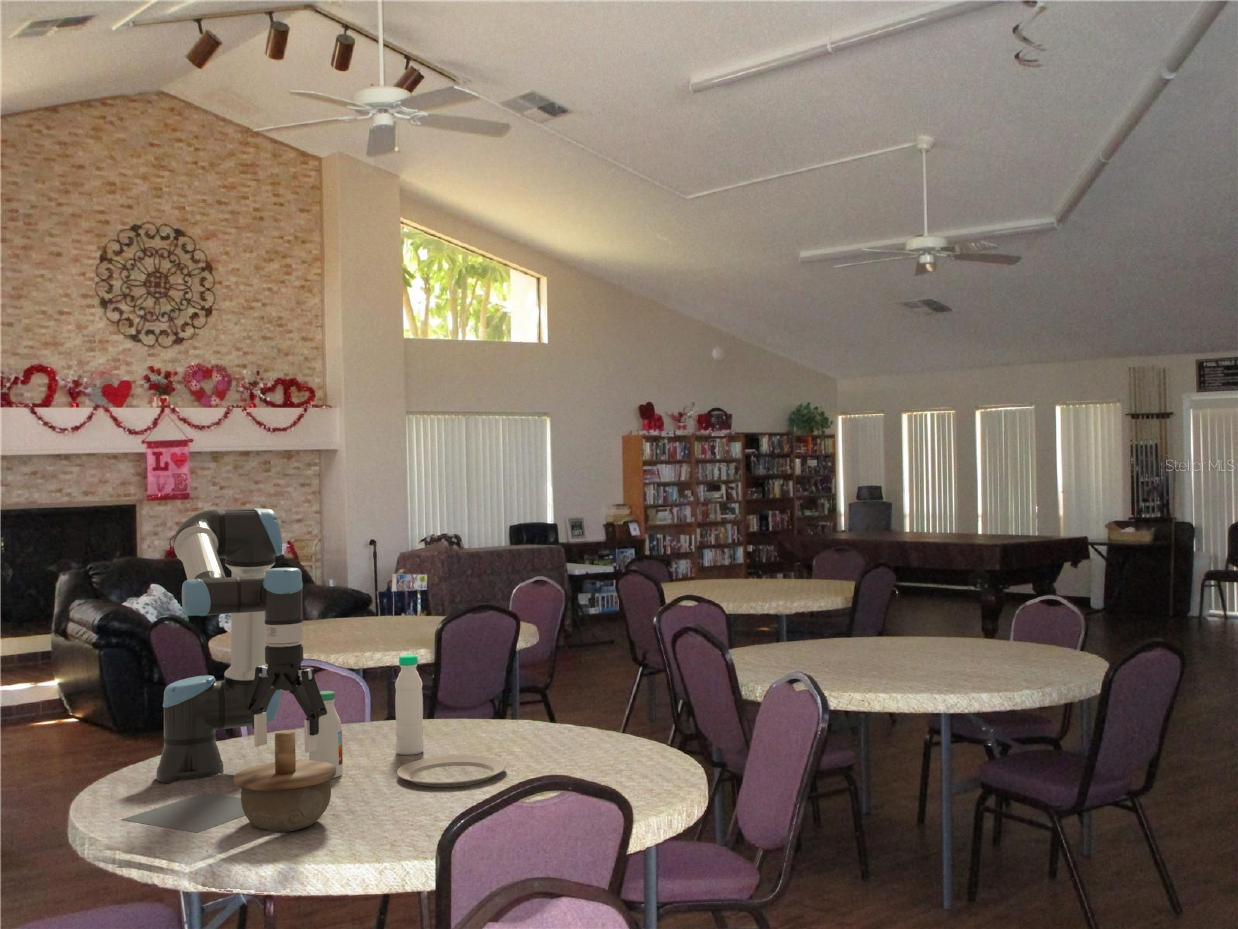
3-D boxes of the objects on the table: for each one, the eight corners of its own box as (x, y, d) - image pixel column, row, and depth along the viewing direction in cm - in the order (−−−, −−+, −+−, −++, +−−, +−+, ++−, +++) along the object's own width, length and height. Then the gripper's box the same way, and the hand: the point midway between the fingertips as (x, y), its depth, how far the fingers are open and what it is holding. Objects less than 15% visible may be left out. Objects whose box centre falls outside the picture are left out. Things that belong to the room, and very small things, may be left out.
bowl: (317, 839, 216) (316, 787, 216) (227, 840, 216) (226, 789, 217) (341, 813, 233) (340, 765, 234) (258, 814, 234) (257, 767, 234)
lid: (211, 784, 221) (211, 739, 221) (284, 761, 238) (284, 719, 239) (286, 795, 212) (285, 748, 212) (356, 770, 229) (356, 727, 229)
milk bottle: (333, 780, 260) (332, 695, 260) (303, 779, 261) (302, 695, 262) (348, 772, 267) (347, 689, 268) (318, 771, 269) (317, 689, 269)
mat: (120, 824, 228) (120, 819, 228) (204, 797, 248) (204, 792, 248) (197, 837, 218) (197, 832, 218) (278, 808, 238) (278, 803, 238)
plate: (375, 779, 262) (375, 770, 262) (460, 758, 280) (459, 750, 280) (442, 797, 244) (442, 788, 244) (527, 774, 263) (527, 765, 263)
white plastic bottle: (410, 757, 282) (409, 658, 282) (390, 754, 285) (388, 657, 286) (429, 751, 288) (427, 654, 288) (409, 748, 291) (407, 653, 292)
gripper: (225, 643, 228) (226, 746, 228) (317, 649, 217) (319, 758, 216) (252, 638, 235) (254, 739, 234) (343, 644, 223) (345, 749, 223)
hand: (285, 748), depth 225 cm, fingers open, 13 cm apart
